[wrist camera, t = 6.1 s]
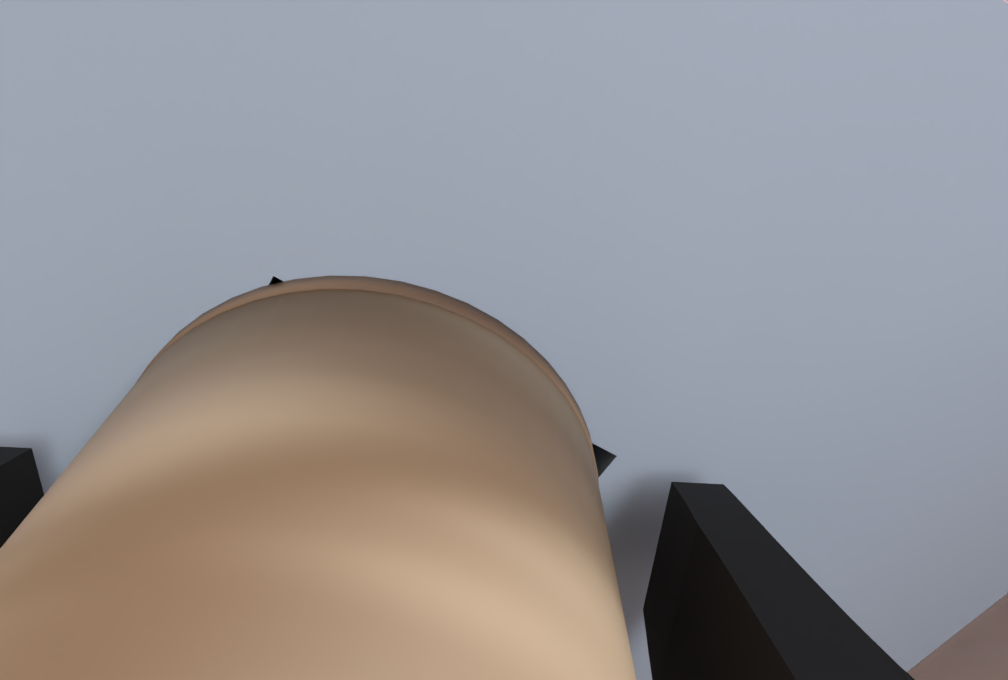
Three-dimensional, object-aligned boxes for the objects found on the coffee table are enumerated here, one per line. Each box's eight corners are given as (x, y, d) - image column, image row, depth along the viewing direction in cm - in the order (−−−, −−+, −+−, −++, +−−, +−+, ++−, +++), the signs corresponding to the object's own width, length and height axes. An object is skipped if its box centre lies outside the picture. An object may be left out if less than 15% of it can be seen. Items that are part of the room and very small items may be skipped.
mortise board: (1208, 246, 10) (1365, 311, 8) (542, 842, 16) (548, 952, 14) (-49, -782, 6) (-288, -1105, 4) (-290, 551, 12) (-425, 656, 10)
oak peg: (611, 241, 9) (818, 765, 3) (554, 571, 12) (617, 1198, 6) (153, 203, 9) (-510, 703, 3) (198, 550, 12) (-114, 1188, 6)
